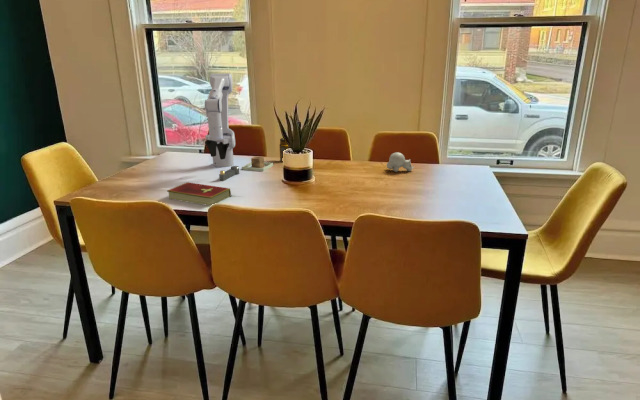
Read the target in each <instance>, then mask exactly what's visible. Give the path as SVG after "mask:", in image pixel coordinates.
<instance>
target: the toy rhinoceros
mask: <svg viewBox="0 0 640 400" xmlns="http://www.w3.org/2000/svg"><path fill="white" fill-rule="evenodd" d="M411 162H412V161H411V159H410V158H409V159H406V157H405V155H404V154H403V153H401V152H399V151H398V152H397V151H396V152H393V153H391V154H390V156H389V161H388V162H387V163H386V169H388V170H392V171H393V172H395V173H398V172H399V170H400V168H401V167H402V168H403V169H405V170H406V171H407V172H411V171H413V169H414V168H415V165H412V163H411Z"/></svg>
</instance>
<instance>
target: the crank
mask: <svg viewBox="0 0 640 400" xmlns="http://www.w3.org/2000/svg"><path fill="white" fill-rule="evenodd" d="M239 174H240V166H239V165H233V166H230V168H229V169H227V170H220V171H219V174H218V177H219V181H223V182H224V181H226V180H228V179H230V178H231V177H234V176H235V175H239Z"/></svg>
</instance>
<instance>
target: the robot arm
mask: <svg viewBox="0 0 640 400" xmlns="http://www.w3.org/2000/svg"><path fill="white" fill-rule="evenodd" d="M209 84H210V87H211V90H209V94H208V96H207V98H206V99H205V101H204V110H205V114H206V117H207V124H208V126H207V127H208V134H205V140H204V144H205V145H206V147H207V149H208V151H209V154H210V157H212V164H213V167H214V166H215V167H219V168H229V167H230V168H231V167H232V166H235V161H234V152H233V149H234V148H235V147H236V137H235V131H234V130H232V129H231V128H229V125H230V124H229V123H230V122H229V97H230V94H232V93H233V88H234V87H233V76H232V74H231V73H230V72H229V73H213V72H211V73H210V75H209Z"/></svg>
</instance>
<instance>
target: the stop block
mask: <svg viewBox="0 0 640 400" xmlns="http://www.w3.org/2000/svg"><path fill="white" fill-rule="evenodd" d="M250 160H251V161H250V163H252V165H251V168H264V167H265V165H264V162H265V157H264V156H258V155H257V156H256V155H255V156H254V157H251V159H250Z"/></svg>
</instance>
